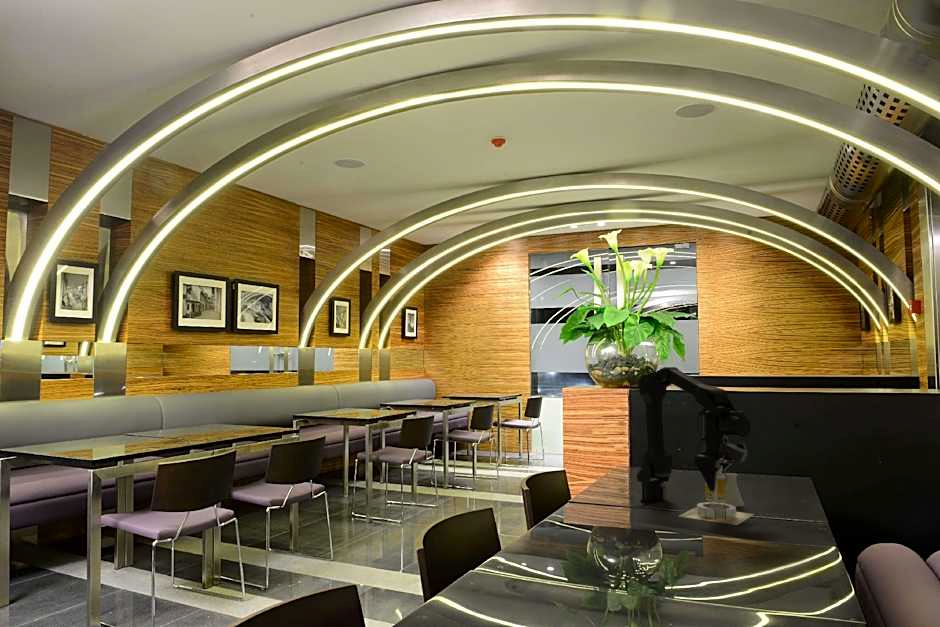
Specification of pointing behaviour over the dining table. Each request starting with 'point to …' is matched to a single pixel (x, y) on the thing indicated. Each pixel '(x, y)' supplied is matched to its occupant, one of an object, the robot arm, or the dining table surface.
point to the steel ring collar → (716, 510)
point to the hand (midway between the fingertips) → (715, 489)
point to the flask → (732, 491)
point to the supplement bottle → (717, 488)
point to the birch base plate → (737, 520)
